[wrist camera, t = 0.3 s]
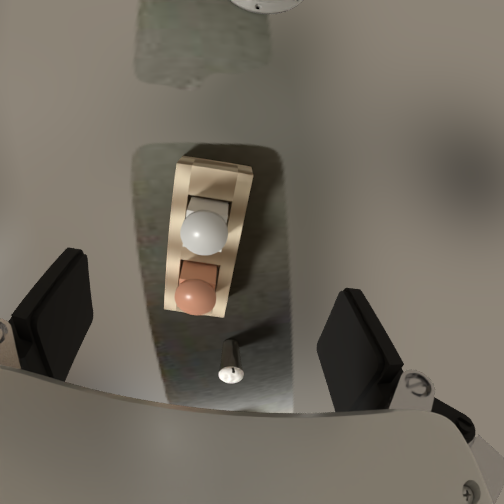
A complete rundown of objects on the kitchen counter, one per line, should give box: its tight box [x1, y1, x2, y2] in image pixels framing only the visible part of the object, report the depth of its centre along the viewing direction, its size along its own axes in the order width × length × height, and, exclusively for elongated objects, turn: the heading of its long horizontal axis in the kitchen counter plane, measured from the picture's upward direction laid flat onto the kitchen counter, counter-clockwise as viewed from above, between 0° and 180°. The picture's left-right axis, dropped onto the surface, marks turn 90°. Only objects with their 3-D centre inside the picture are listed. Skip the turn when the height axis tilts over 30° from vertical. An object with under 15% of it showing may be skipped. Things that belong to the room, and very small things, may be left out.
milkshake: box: [219, 339, 244, 383], centre depth 55 cm, size 4×5×10 cm
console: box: [164, 156, 253, 318], centre depth 45 cm, size 24×10×5 cm, turn 168°
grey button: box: [180, 197, 228, 255], centre depth 39 cm, size 6×6×6 cm
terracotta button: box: [175, 260, 217, 315], centre depth 44 cm, size 6×6×6 cm
